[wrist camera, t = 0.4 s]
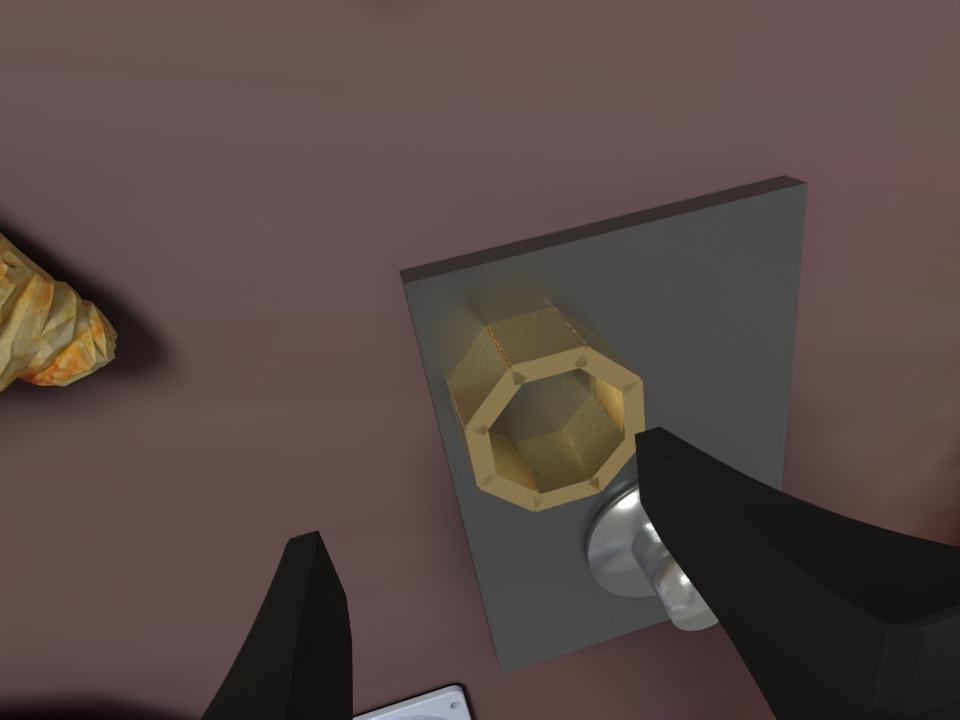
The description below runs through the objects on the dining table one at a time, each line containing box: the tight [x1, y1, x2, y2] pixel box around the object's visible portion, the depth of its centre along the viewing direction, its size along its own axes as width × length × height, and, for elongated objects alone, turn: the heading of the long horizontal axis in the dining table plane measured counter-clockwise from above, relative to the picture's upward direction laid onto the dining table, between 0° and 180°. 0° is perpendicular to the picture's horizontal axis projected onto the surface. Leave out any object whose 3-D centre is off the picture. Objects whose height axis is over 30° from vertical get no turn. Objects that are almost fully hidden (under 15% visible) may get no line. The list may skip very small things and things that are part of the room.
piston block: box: [400, 176, 807, 674], centre depth 25 cm, size 20×14×5 cm
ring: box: [447, 307, 645, 512], centre depth 22 cm, size 6×6×3 cm
